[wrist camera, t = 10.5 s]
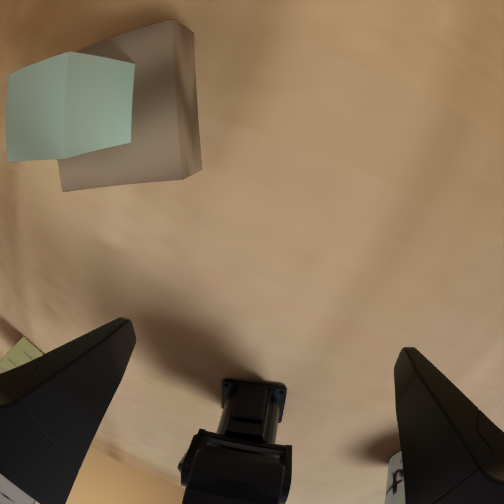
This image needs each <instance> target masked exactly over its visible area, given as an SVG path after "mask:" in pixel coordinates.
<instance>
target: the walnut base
mask: <svg viewBox="0 0 504 504" xmlns="http://www.w3.org/2000/svg"><path fill="white" fill-rule="evenodd" d="M76 53H82V54H88V55H94V56H100V57H105V58H110V59H115V60H120V61H124V62H129V63H133V64H135V72H134V84H133V99H132V120H131V143H127V144H122V145H117V146H113V147H109V148H104V149H100V150H96V151H92V152H88V153H84V154H80V155H77V156H73V157H69V158H66V159H58V166H59V173H60V179H61V185H62V190H63V192H68V191H75V190H82V189H90V188H98V187H107V186H116V185H125V184H135V183H146V182H158V181H171V180H183V179H185V178H187V177H189V176H191V175H193V174H195V173H196V172H198V171H200V170H202V161H201V149H200V136H199V123H198V108H197V92H196V75H195V54H194V33H193V32H192V31H190V30H189V29H187V28H186V27H184V26H183V25H181V24H180V23H178V22H177V21H175V20H174V19H171V20H167V21H163V22H159V23H155V24H152V25H148V26H145V27H142V28H138V29H135V30H132V31H129V32H126V33H123V34H120V35H117V36H114V37H112V38H109V39H106V40H104V41H101V42H98V43H96V44H93V45H91V46H89V47H86V48H84V49H81V50H79V51H77V52H76Z"/></svg>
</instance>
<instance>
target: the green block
mask: <svg viewBox="0 0 504 504" xmlns="http://www.w3.org/2000/svg"><path fill="white" fill-rule="evenodd" d="M134 72H135V64H133V63H129V62H124V61H120V60H115V59H110V58H105V57H100V56H94V55H88V54H82V53H76V52H66V53H63V54H60V55H57V56H54V57H51V58H48V59H45V60H42V61H40V62H37V63H34V64H32V65H29V66H27V67H24V68H22V69H19V70H17V71H15V72H12V73H10V74H9V75H8V87H7V105H6V144H7V162H16V161H30V160H48V159H66V158H69V157H73V156H77V155H80V154H84V153H88V152H92V151H96V150H100V149H104V148H109V147H113V146H117V145H122V144H127V143H131V120H132V99H133V84H134Z"/></svg>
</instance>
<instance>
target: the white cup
mask: <svg viewBox="0 0 504 504" xmlns="http://www.w3.org/2000/svg"><path fill="white" fill-rule="evenodd" d="M385 504H405V489H404V475H403V464H402V454H401V451H400V452H398V453H396V454H395V455H394V456H392V457H391V459H390V460H389V467H388V478H387V488H386V497H385Z"/></svg>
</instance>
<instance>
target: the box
mask: <svg viewBox="0 0 504 504" xmlns="http://www.w3.org/2000/svg"><path fill="white" fill-rule="evenodd" d="M42 355H44V354H43V353H42V352H40V351H39V350H38V349H37V348H36V347H35V346H34V345H33V344H32V343H31V342H29V341H28V340H27V338H25V337H24V336H23V337H22V338H21V339H20V340H19V341H18V342H17V343H16V344H15V345H14V346H13V347H12V349H11V350H10V351H9V352H8V353H7V354H6V355H5V356H4V357H3V358H2V359H1V360H0V374H1V373H3V372H6V371H8V370H11V369H13V368H16V367H18V366H21V365H23V364H25V363H27V362H29V361H31V360H34V359H36V358H38V357H41V356H42Z"/></svg>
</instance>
